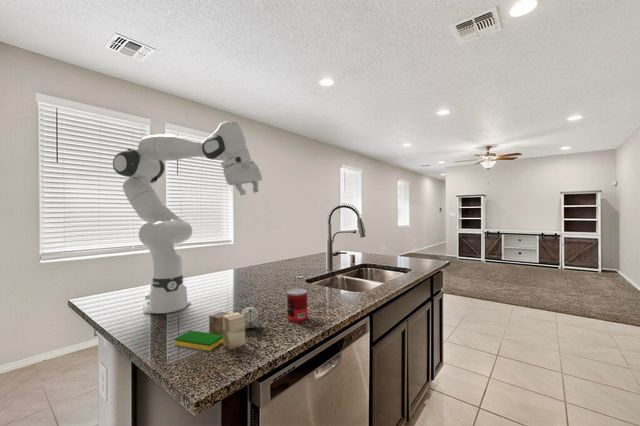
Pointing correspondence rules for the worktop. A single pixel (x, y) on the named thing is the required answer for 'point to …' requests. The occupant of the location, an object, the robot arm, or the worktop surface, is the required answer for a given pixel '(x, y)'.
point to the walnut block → (216, 322)
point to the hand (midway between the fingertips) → (250, 193)
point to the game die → (251, 316)
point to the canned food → (297, 305)
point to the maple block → (233, 330)
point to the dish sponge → (199, 340)
